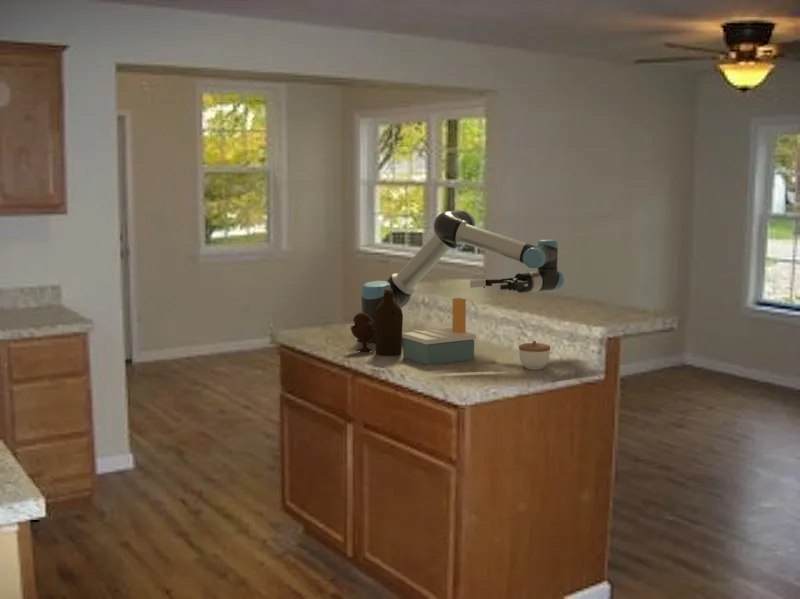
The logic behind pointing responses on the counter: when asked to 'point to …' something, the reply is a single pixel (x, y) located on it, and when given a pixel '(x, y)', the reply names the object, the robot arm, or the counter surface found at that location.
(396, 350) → the olive oil
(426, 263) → the robot arm
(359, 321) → the ice cream bowl
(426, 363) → the tub
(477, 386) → the counter surface
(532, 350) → the lidded jar
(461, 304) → the lid
